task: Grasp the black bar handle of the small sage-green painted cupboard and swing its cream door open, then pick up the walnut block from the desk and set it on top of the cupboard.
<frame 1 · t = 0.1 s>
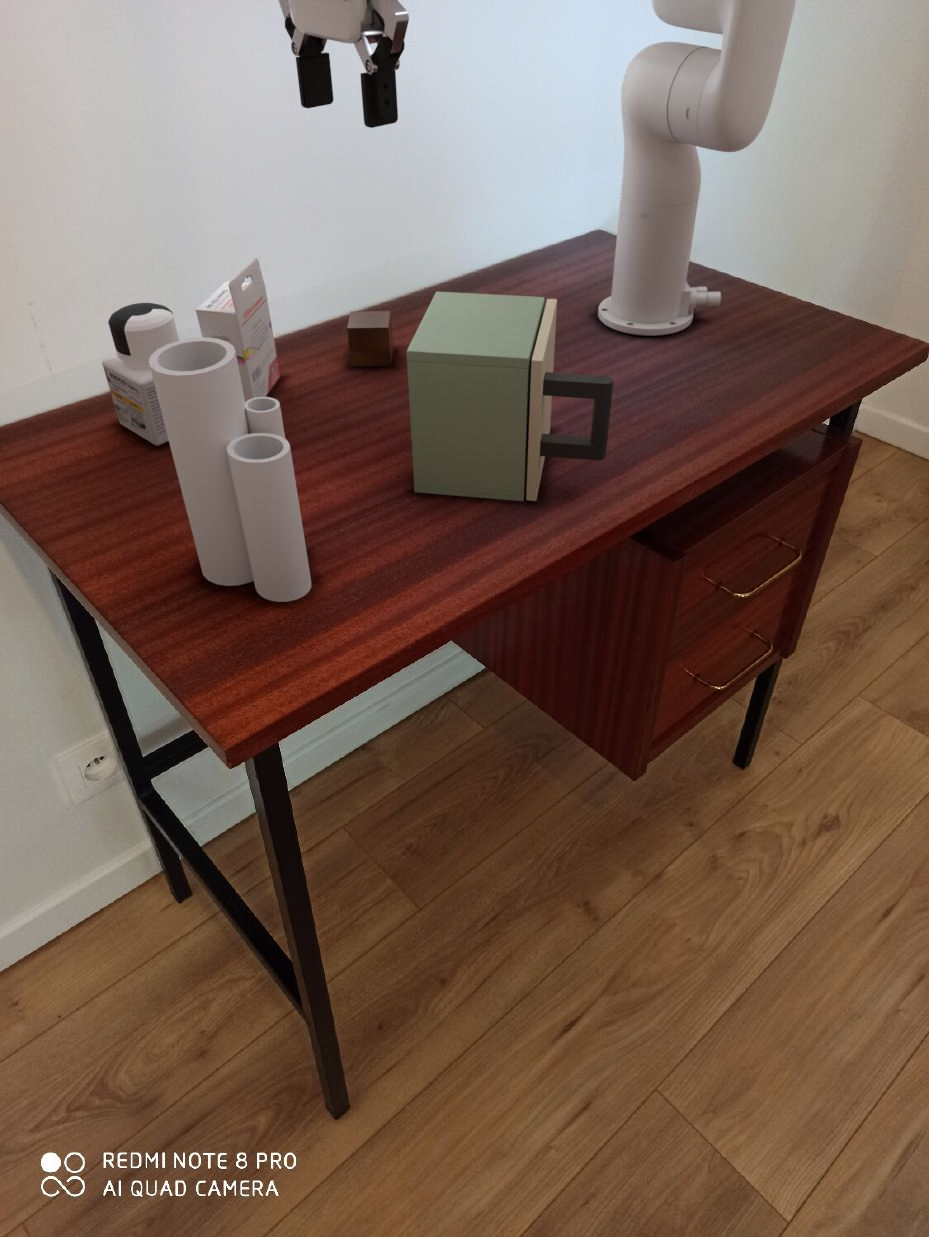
hand: (348, 115, 81), 31 cm above the table, tool pointing down, fingers open, 9 cm apart
ink cartridge box: (249, 394, 108), on the table
block: (372, 357, 115), on the table
cupboard: (479, 460, 96), on the table
cupboard door: (573, 401, 90), point 8 cm above the table, hinge at 0.0°
vase: (262, 570, 82), on the table
container: (167, 424, 103), on the table
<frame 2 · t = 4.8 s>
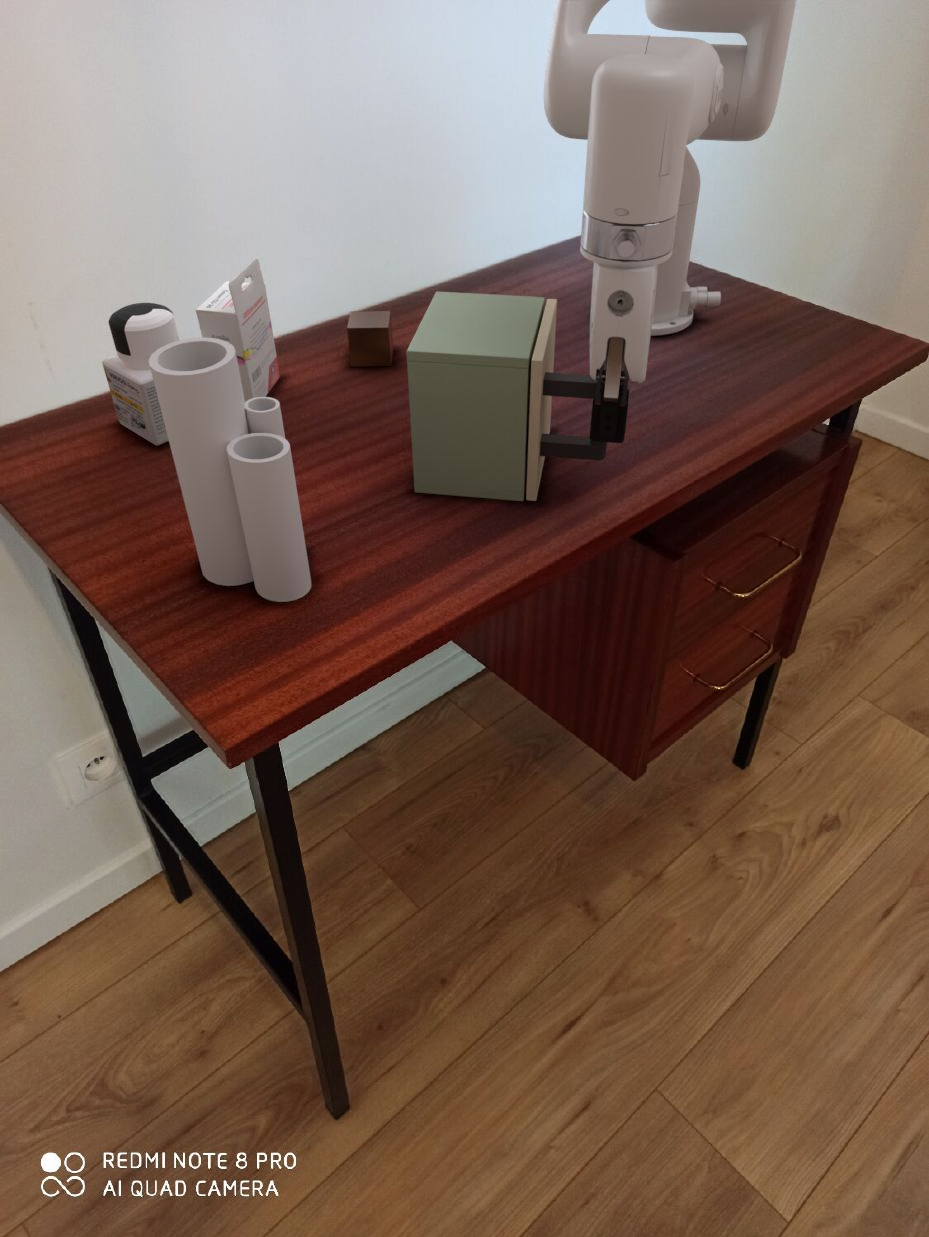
hand: (607, 433, 86), 7 cm above the table, tool pointing down, fingers closed on cupboard door
cupboard door: (573, 401, 90), point 8 cm above the table, hinge at 0.0°, touching gripper
everything else where it was.
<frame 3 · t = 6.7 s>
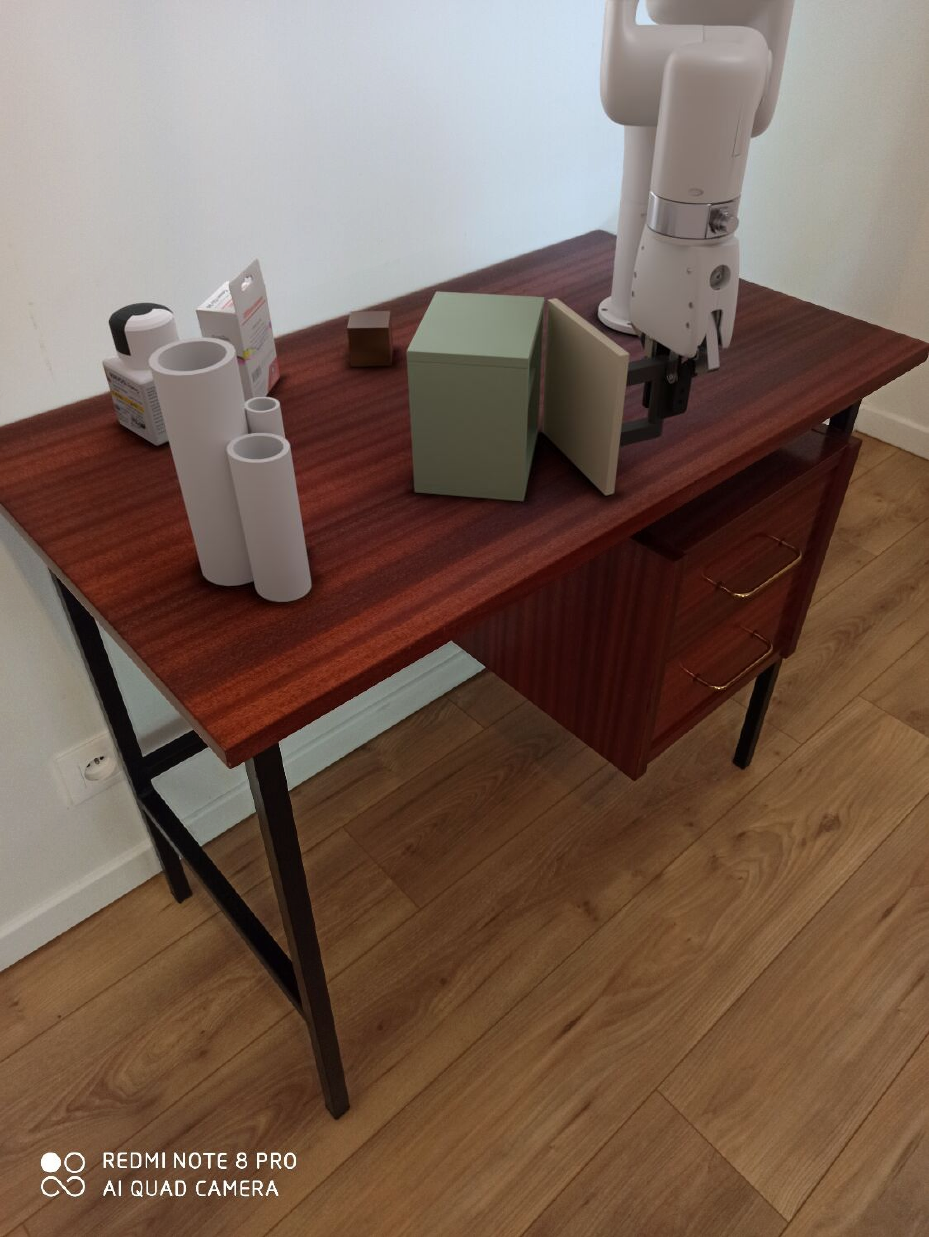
hand: (663, 408, 90), 7 cm above the table, tool pointing down, fingers closed on cupboard door
cupboard door: (608, 390, 91), point 8 cm above the table, hinge at 32.8°, touching gripper
everything else where it was.
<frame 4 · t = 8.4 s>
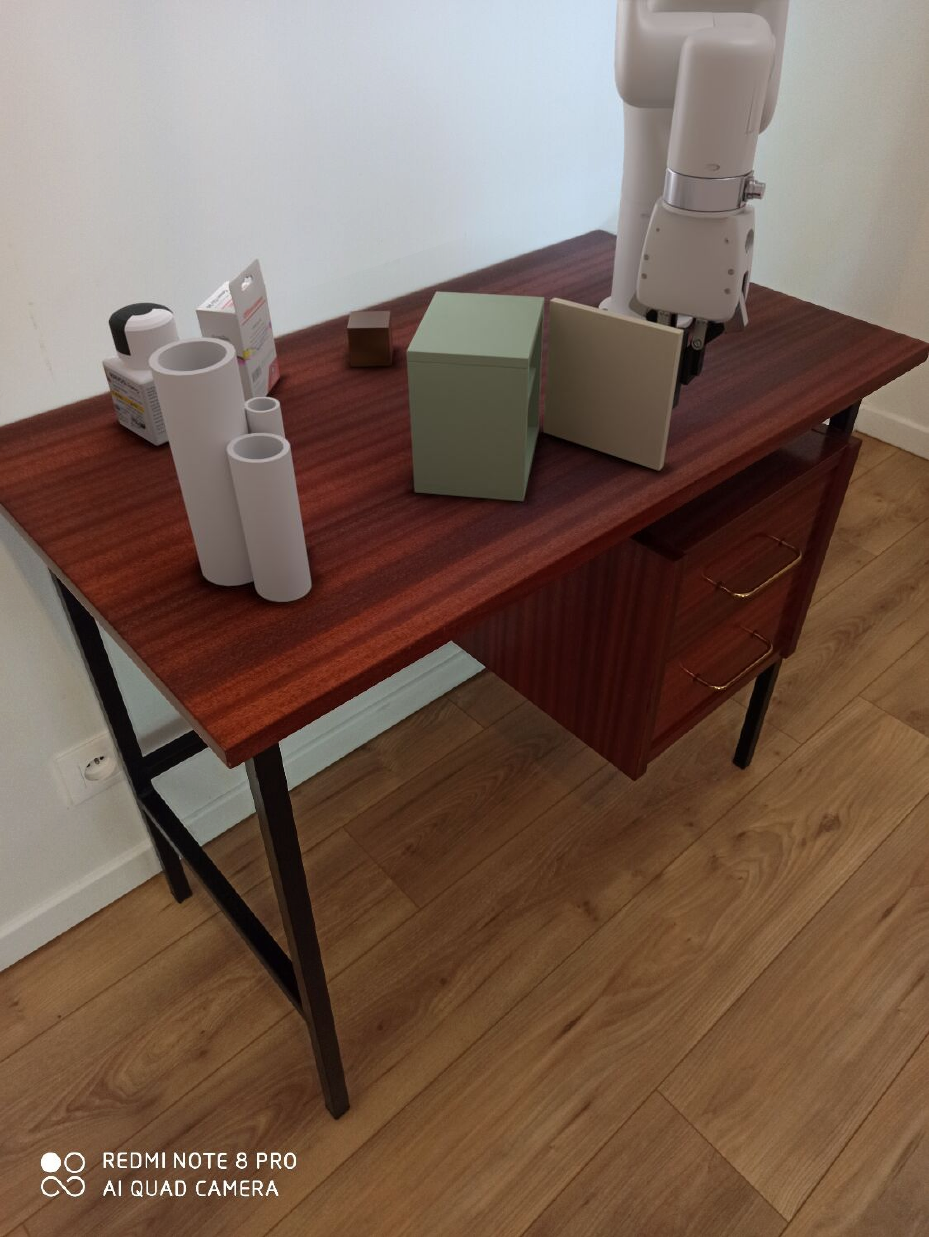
hand: (677, 376, 95), 7 cm above the table, tool pointing down, fingers closed on cupboard door
cupboard door: (622, 373, 94), point 8 cm above the table, hinge at 63.8°, touching gripper
everything else where it was.
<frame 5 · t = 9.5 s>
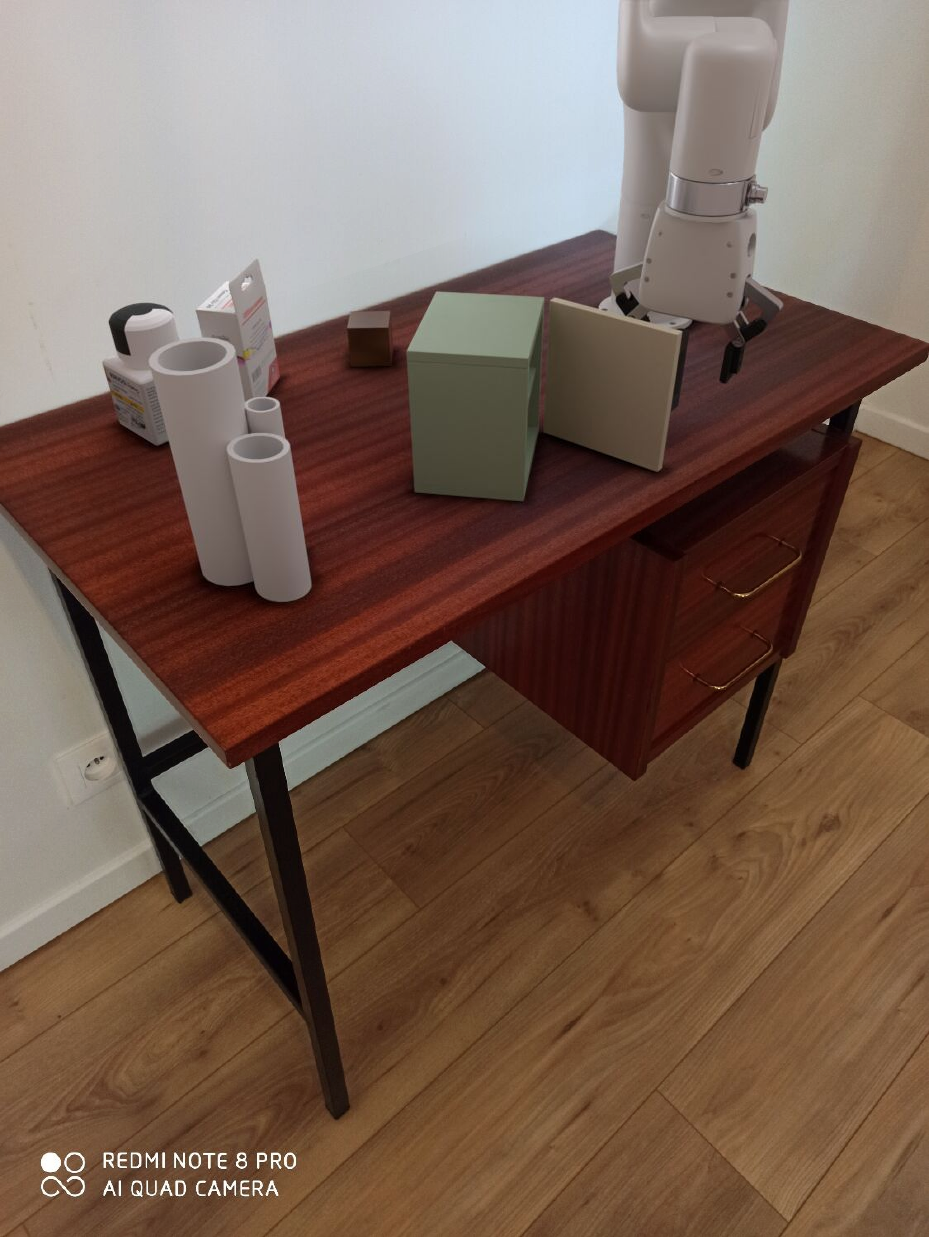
hand: (681, 368, 95), 8 cm above the table, tool pointing down, fingers open, 9 cm apart
cupboard door: (622, 374, 94), point 8 cm above the table, hinge at 62.6°
everything else where it was.
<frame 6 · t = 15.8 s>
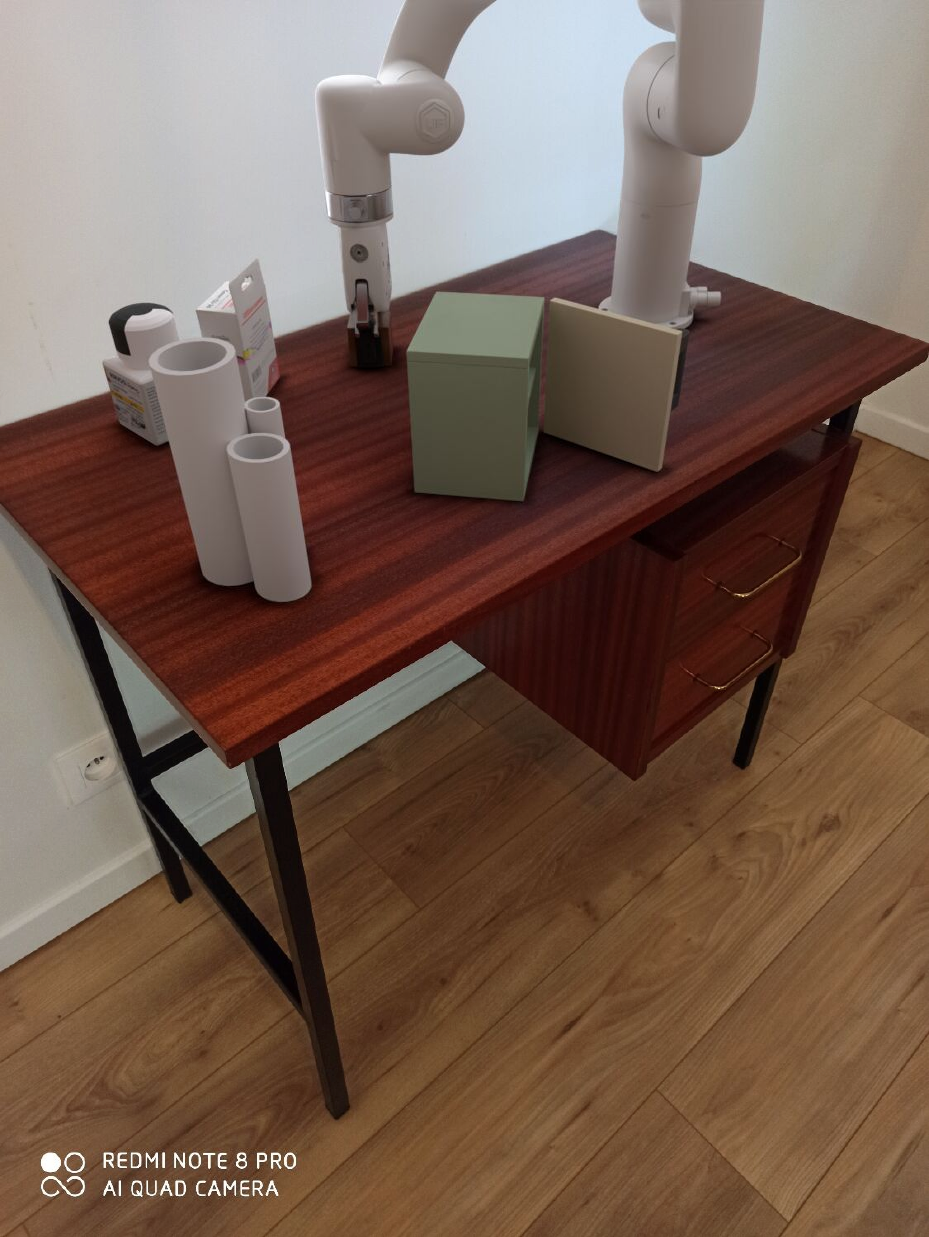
hand: (372, 354, 114), 0 cm above the table, tool pointing down, fingers closed on block, 5 cm apart
block: (372, 357, 115), on the table, touching gripper
everything else where it was.
when the fingers open (15 cm above the table, at t = 22.6 s): block stays where it is, resting on cupboard.
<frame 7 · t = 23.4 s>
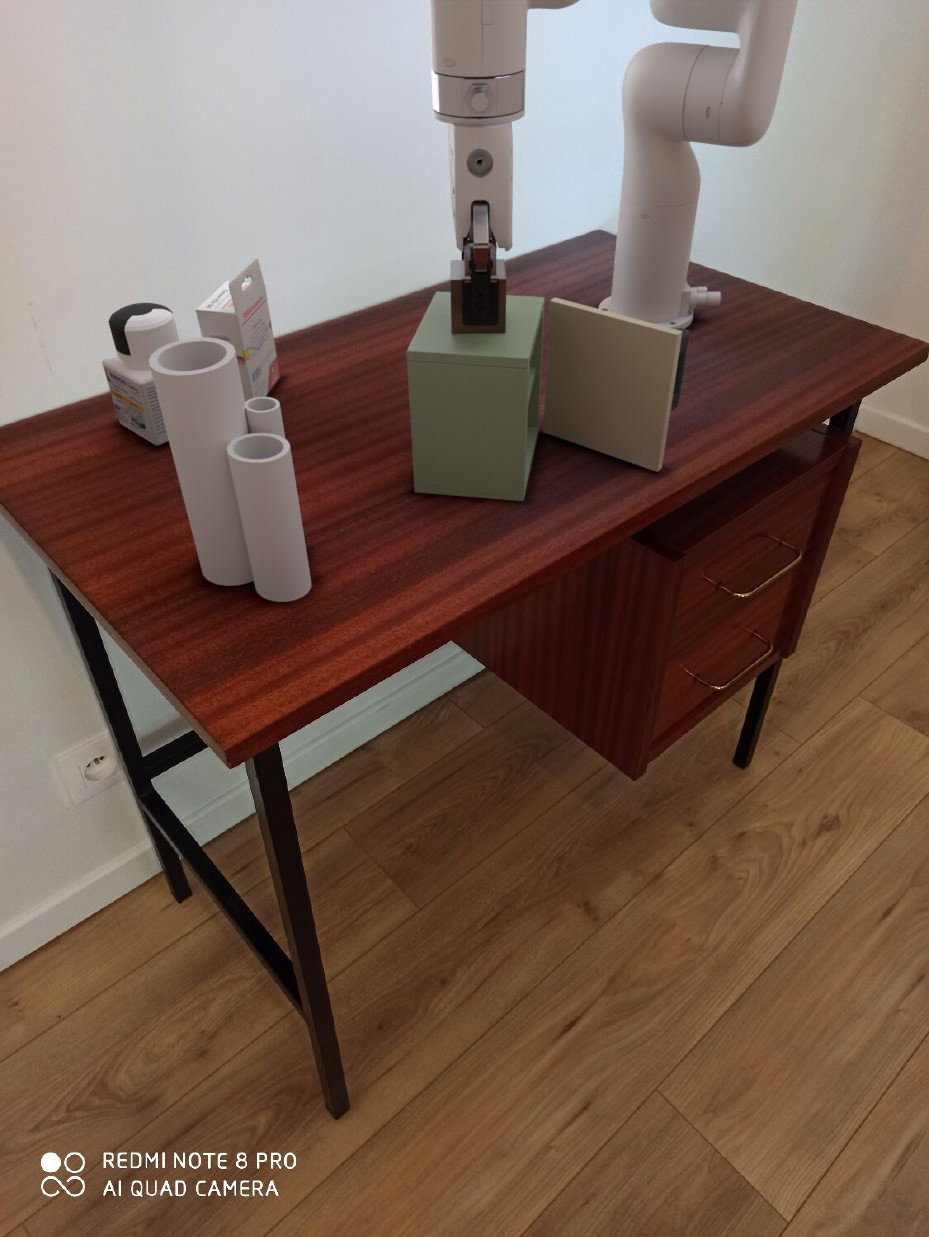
hand: (479, 302, 85), 17 cm above the table, tool pointing down, fingers open, 9 cm apart
block: (478, 322, 86), point 15 cm above the table, touching cupboard
everything else where it was.
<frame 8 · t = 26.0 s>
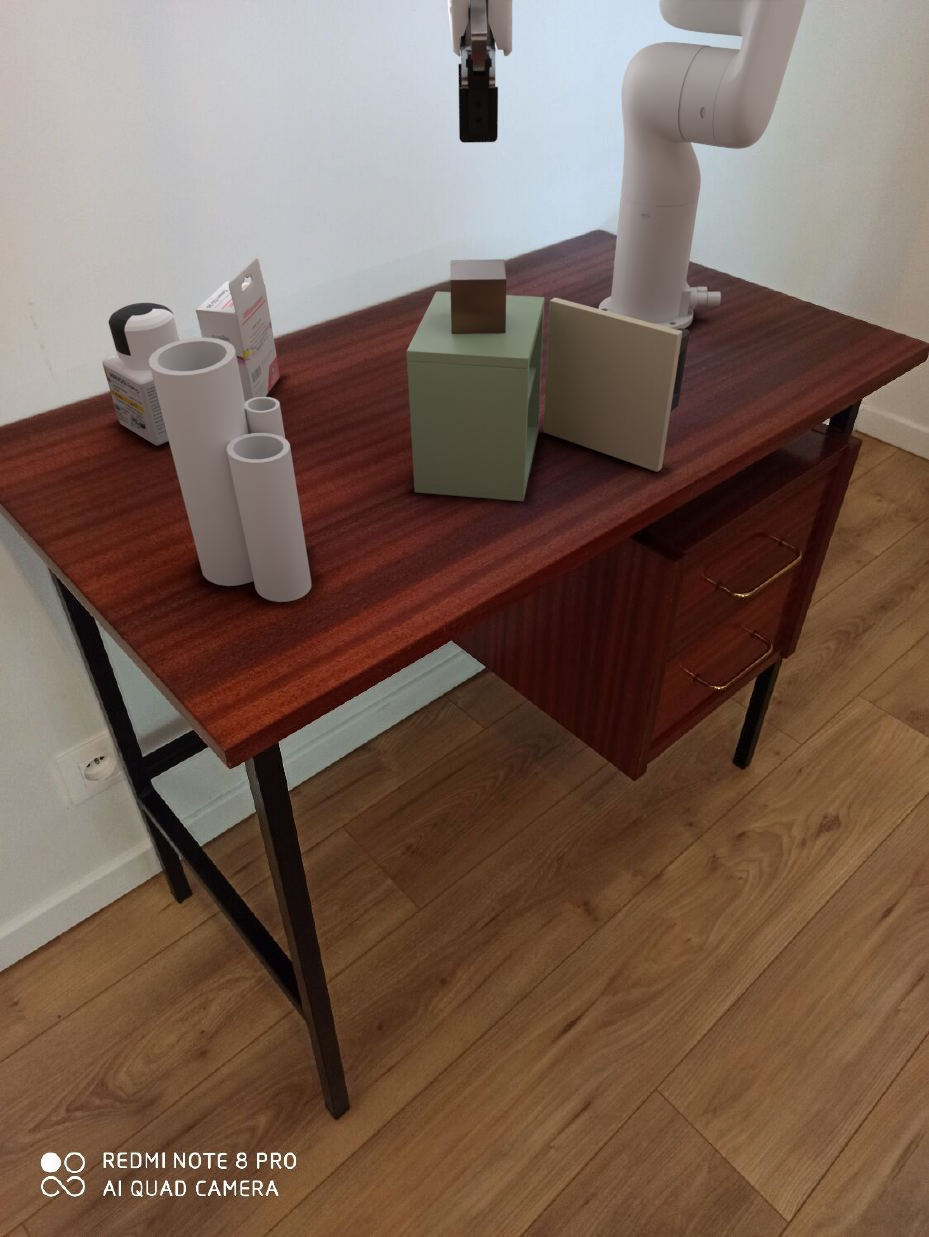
hand: (477, 127, 80), 30 cm above the table, tool pointing down, fingers open, 9 cm apart
nothing on the table moved.
at the end: cupboard door at +63° (first picture: +0°); block inside the target area on the cupboard (0.1 cm from its centre), point 15.0 cm above the cupboard's base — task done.
